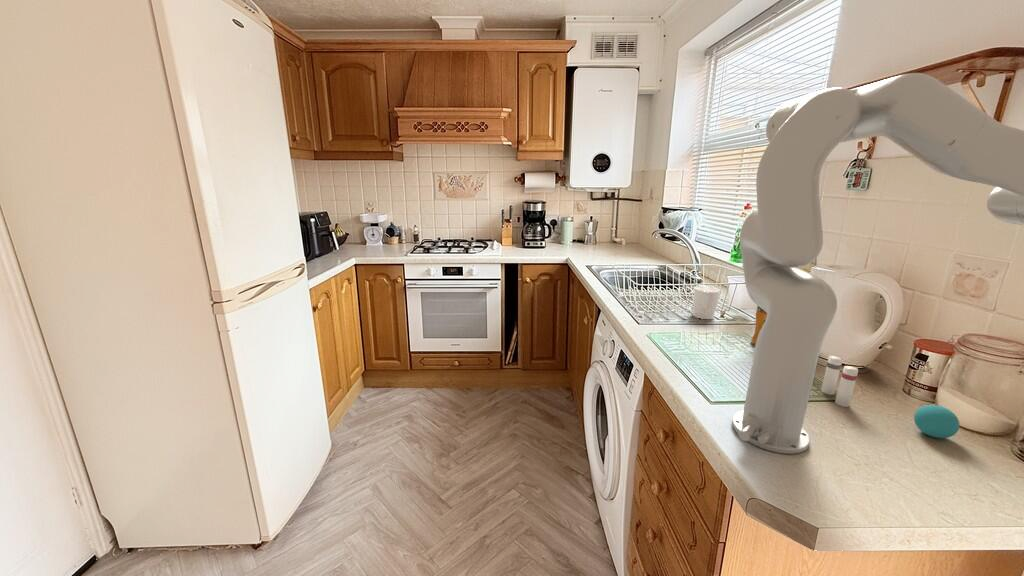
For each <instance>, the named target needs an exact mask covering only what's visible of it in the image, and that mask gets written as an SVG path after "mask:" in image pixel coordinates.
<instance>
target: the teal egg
mask: <svg viewBox="0 0 1024 576" xmlns="http://www.w3.org/2000/svg"><path fill="white" fill-rule="evenodd" d="M913 420H914V423H915V425H916V427H917V428H918V430H920V431H921V432H922V433H924V434H925V435H927V436H929V437H931V438H937V439H946V438H947V439H948V438H951V437H953V436H954V435H956V434H957V433H958V432H959V430H960V425H961V424H960V420H959V419H958V417H957V415H956V414H955V413H954V412H953V411H952V410H950V409H948V408H946V407H944V406H941V405H937V404H926V405H923V406H921V407H920V408H919V407H918V409H917V410H916V411H915V412H914V417H913Z"/></svg>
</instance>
